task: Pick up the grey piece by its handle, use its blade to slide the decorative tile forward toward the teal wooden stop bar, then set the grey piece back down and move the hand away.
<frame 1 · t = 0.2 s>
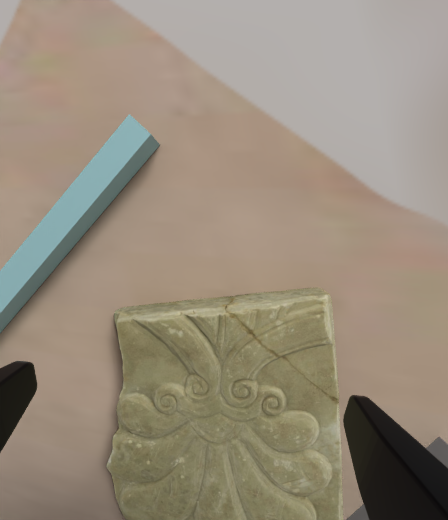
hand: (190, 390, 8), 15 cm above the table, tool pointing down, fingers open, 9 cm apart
decorative tile: (221, 403, 25), on the table
stop bar: (48, 257, 23), on the table
grey piece: (394, 487, 25), on the table
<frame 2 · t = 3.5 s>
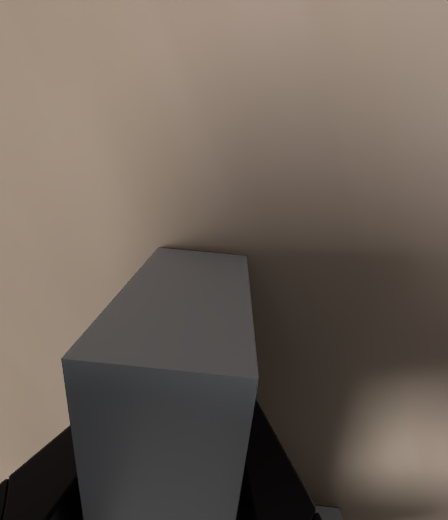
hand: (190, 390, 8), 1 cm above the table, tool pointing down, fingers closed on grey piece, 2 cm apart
grey piece: (186, 504, 11), on the table, touching gripper
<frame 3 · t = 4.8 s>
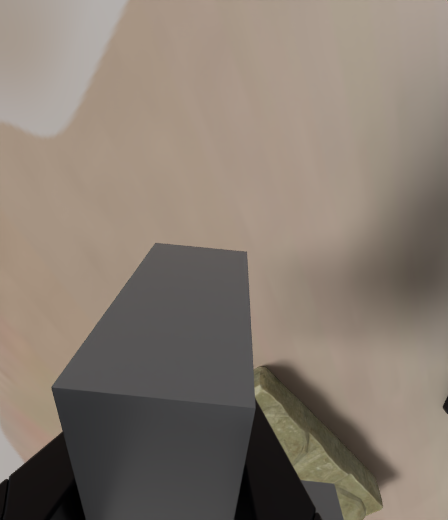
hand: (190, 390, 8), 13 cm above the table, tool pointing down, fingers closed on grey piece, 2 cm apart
decorative tile: (242, 466, 29), on the table
grey piece: (189, 479, 12), point 11 cm above the table, tilted 5°, touching gripper
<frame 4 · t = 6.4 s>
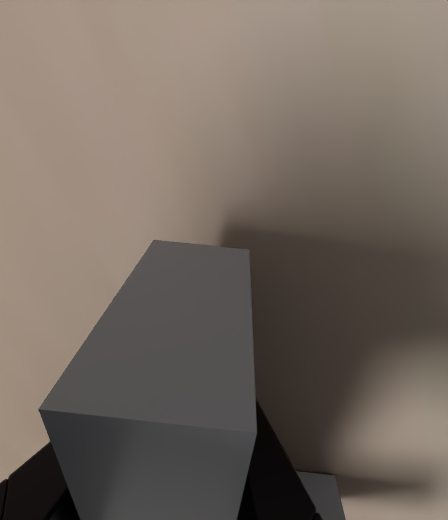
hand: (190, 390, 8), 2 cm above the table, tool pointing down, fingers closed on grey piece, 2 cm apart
grey piece: (191, 469, 12), on the table, tilted 8°, touching gripper
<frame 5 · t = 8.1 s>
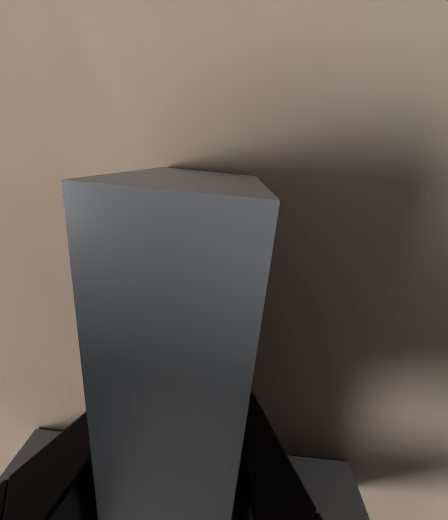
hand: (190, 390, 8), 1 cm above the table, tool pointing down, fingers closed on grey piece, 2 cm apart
grey piece: (190, 459, 11), on the table, touching gripper
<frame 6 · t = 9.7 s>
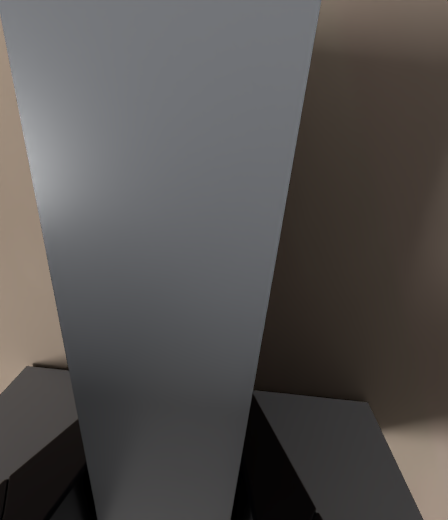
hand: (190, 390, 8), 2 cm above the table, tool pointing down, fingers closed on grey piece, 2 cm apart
grey piece: (194, 400, 10), on the table, touching gripper
when the fingers open (2 cm above the table, at t = 13.7 s): grey piece stays where it is, on the table.
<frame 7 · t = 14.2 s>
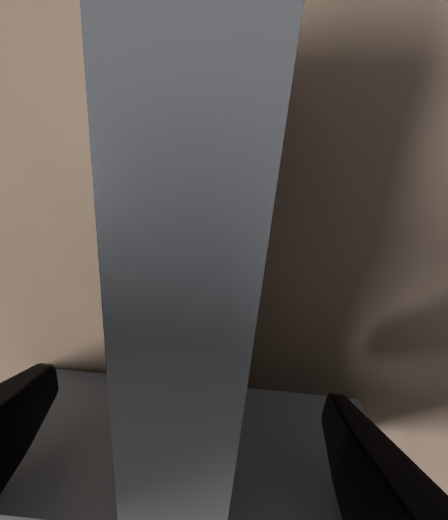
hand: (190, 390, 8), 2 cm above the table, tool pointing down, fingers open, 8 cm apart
grey piece: (196, 398, 11), on the table
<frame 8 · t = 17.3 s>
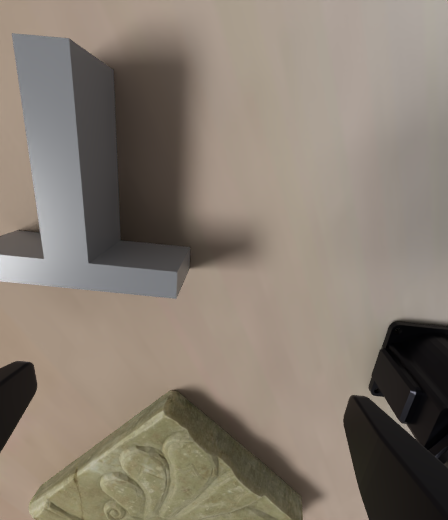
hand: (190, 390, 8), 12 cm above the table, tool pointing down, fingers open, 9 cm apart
decorative tile: (171, 485, 29), on the table
grey piece: (104, 249, 20), on the table
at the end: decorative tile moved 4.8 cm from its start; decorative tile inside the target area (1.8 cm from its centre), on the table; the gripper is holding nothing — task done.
